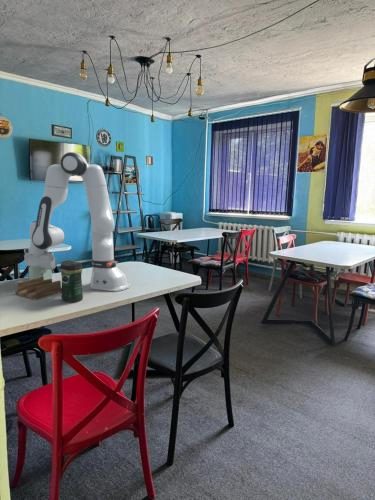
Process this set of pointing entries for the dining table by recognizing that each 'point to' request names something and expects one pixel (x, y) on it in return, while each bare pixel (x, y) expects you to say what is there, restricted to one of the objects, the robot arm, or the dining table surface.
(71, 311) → the dining table surface
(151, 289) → the dining table surface
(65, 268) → the coffee jar
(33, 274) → the tall mint green block
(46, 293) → the rack
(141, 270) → the dining table surface
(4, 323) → the dining table surface
